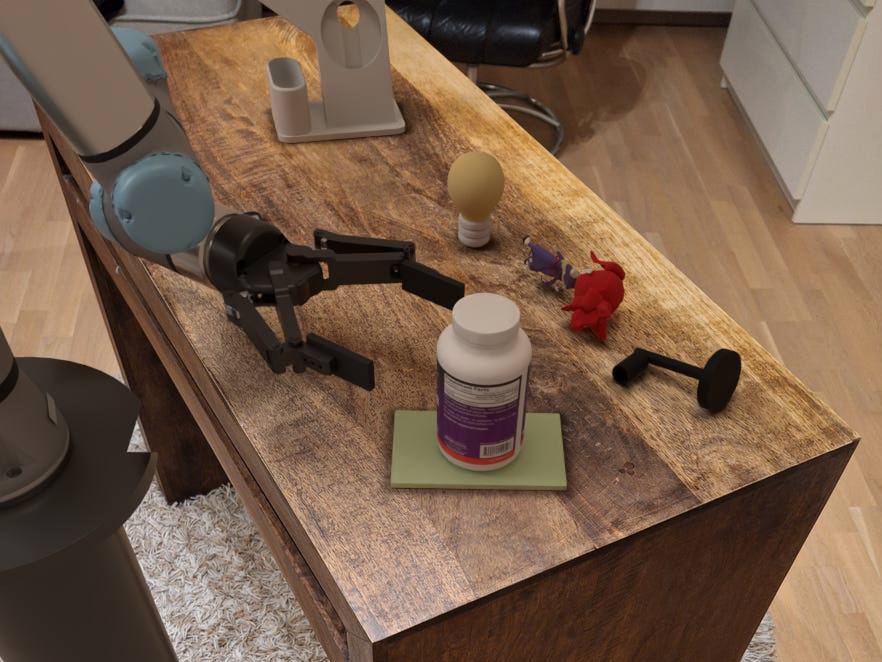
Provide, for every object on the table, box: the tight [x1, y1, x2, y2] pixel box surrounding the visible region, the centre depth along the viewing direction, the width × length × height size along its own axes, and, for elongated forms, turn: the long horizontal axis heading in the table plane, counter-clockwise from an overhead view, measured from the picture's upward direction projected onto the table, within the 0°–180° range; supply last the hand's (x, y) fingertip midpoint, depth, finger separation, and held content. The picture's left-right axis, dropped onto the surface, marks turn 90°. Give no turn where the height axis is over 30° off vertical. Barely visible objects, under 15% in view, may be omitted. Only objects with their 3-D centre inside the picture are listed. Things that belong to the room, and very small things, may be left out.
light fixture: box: [588, 346, 743, 413], centre depth 89 cm, size 6×11×13 cm
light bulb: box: [446, 150, 506, 248], centre depth 102 cm, size 6×6×10 cm
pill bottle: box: [436, 292, 533, 471], centre depth 78 cm, size 8×8×14 cm
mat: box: [390, 409, 568, 491], centre depth 85 cm, size 16×10×1 cm, turn 91°
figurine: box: [522, 235, 627, 341], centre depth 96 cm, size 6×8×15 cm
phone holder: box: [258, 0, 406, 144], centre depth 115 cm, size 17×10×18 cm, turn 104°
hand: (419, 336), depth 78 cm, fingers open, 13 cm apart
